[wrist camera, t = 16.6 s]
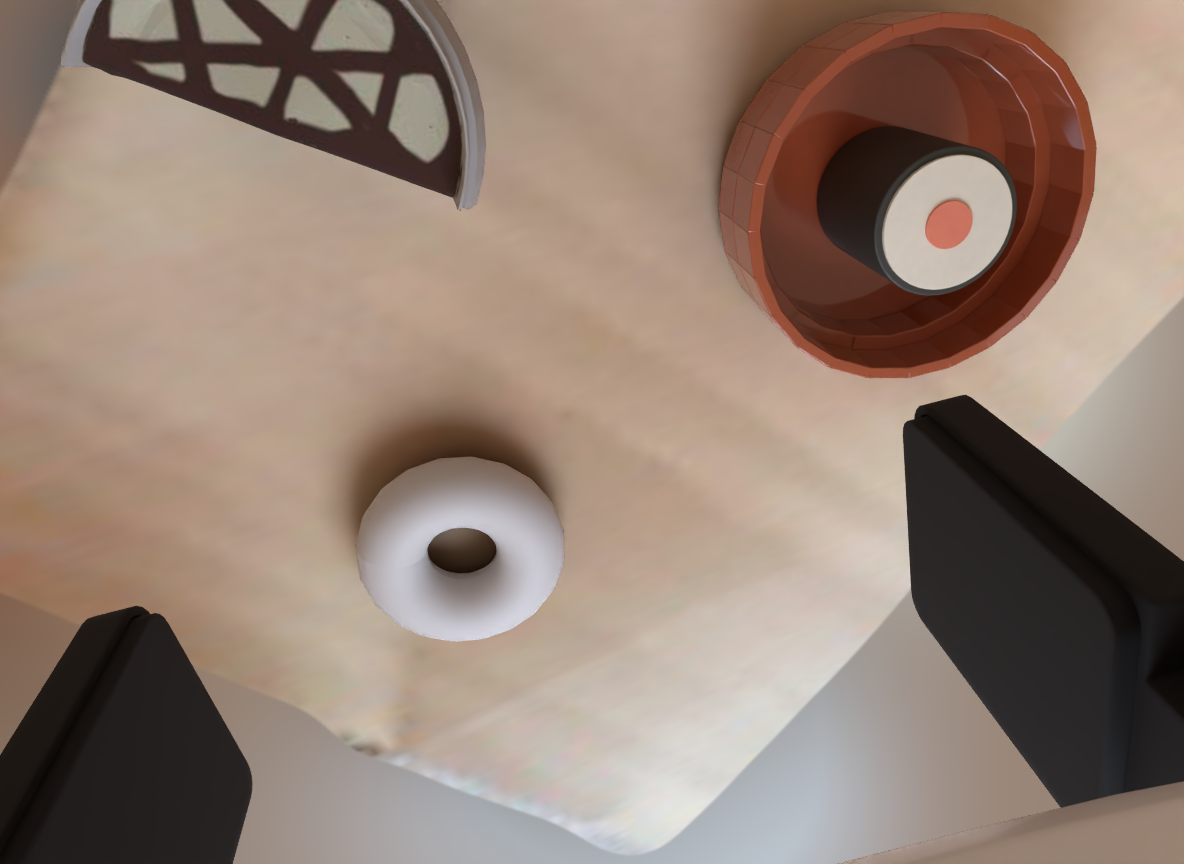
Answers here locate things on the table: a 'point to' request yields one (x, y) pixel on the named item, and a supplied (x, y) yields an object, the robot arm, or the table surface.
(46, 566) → the table surface
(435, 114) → the food container
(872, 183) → the sushi roll
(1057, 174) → the bowl
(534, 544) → the donut
